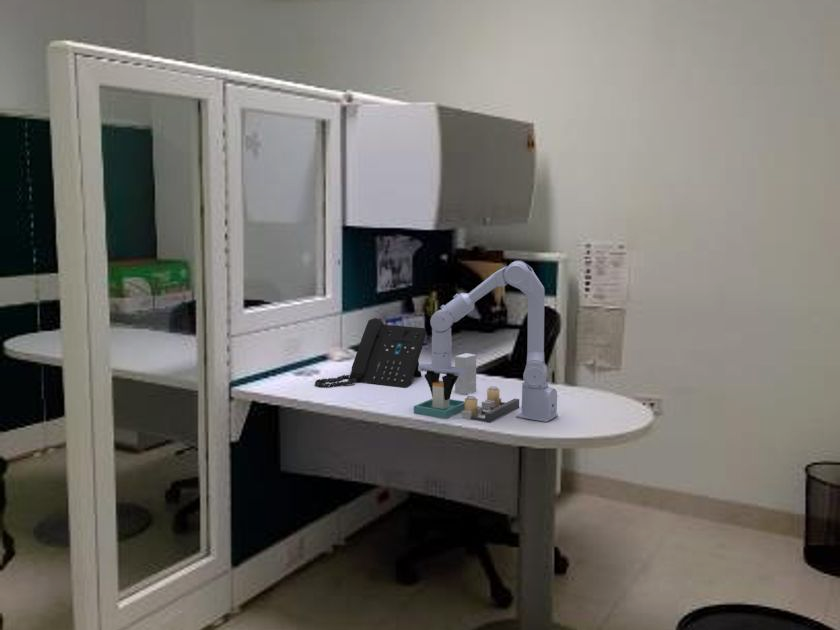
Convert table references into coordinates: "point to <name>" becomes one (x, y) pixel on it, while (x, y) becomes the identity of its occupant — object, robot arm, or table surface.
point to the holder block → (492, 410)
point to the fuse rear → (493, 395)
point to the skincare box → (466, 373)
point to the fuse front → (471, 405)
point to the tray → (445, 413)
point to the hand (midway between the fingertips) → (441, 398)
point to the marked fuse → (439, 396)
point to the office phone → (384, 356)
